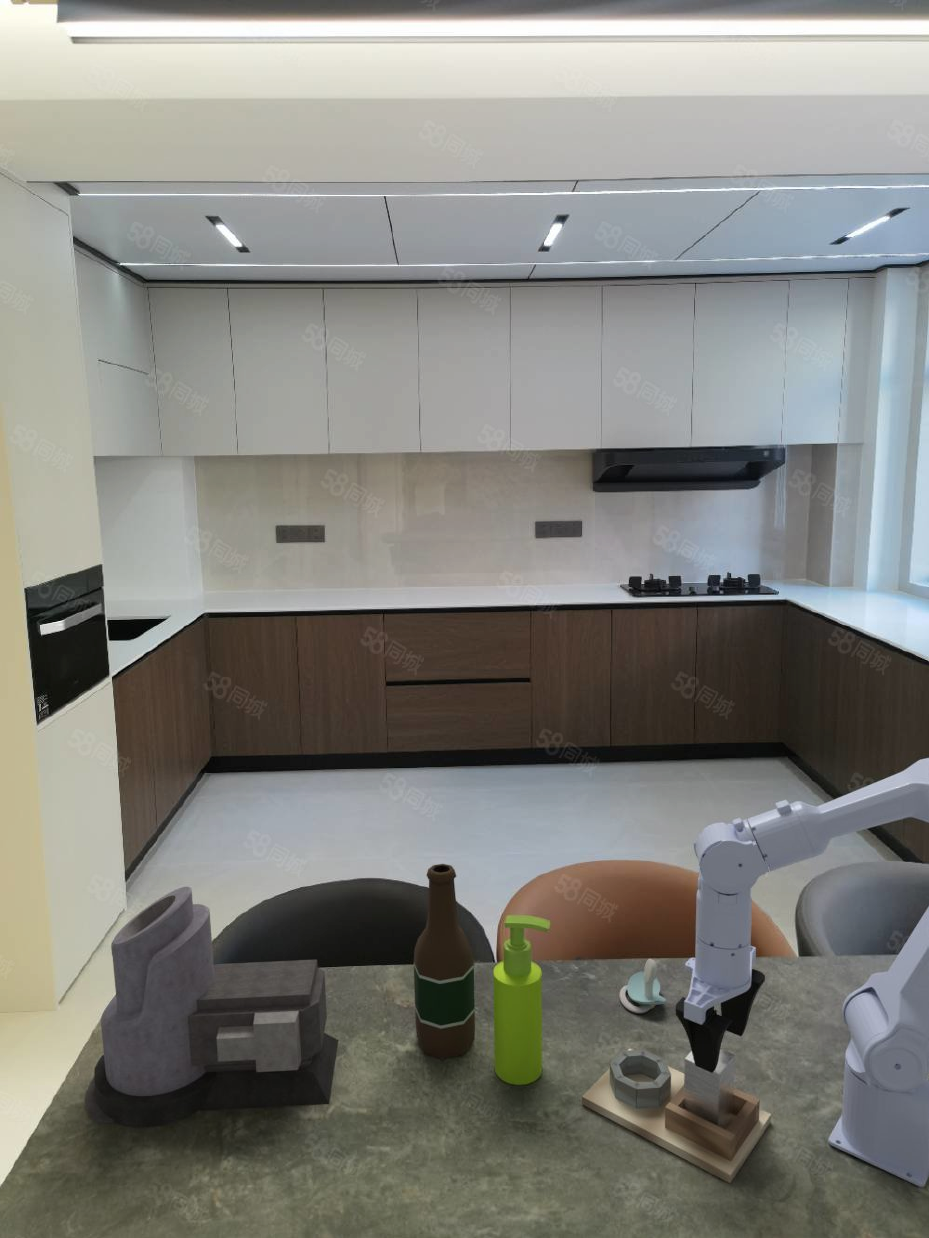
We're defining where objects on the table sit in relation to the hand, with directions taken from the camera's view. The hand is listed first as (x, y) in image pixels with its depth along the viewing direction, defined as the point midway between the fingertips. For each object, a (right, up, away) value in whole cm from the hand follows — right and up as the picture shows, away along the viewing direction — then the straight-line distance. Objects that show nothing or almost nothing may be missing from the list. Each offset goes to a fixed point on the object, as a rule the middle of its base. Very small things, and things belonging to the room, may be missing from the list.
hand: (719, 1049), depth 95 cm
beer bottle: (-31, -8, +17) cm, 36 cm away
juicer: (-60, -9, +11) cm, 61 cm away
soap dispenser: (-21, -8, +11) cm, 25 cm away
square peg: (-1, -8, +1) cm, 9 cm away
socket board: (-4, -9, +3) cm, 10 cm away
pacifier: (-4, -6, +25) cm, 26 cm away
